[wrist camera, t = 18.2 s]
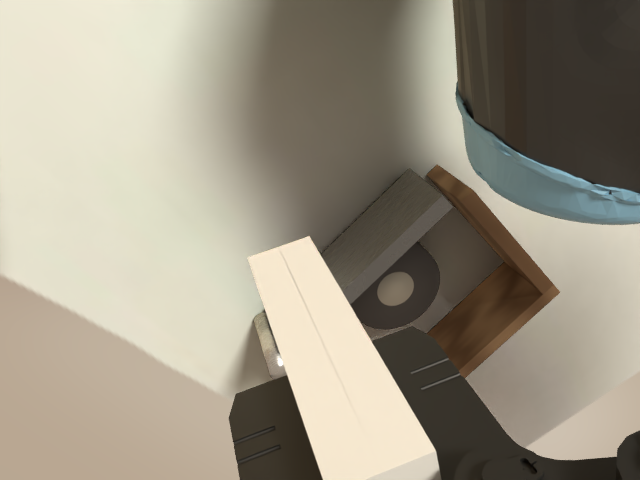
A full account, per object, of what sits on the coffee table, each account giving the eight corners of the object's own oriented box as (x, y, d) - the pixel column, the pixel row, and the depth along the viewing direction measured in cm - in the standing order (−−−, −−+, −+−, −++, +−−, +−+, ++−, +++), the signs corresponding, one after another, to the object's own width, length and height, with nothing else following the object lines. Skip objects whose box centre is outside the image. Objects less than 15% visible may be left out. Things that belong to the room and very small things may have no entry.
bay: (437, 164, 47) (473, 190, 42) (520, 260, 54) (560, 292, 49) (274, 323, 49) (289, 366, 44) (373, 395, 56) (396, 439, 51)
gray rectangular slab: (408, 167, 46) (448, 199, 40) (419, 180, 47) (460, 213, 41) (250, 321, 48) (265, 373, 42) (263, 331, 49) (280, 383, 43)
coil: (386, 209, 48) (403, 227, 44) (438, 263, 51) (457, 282, 48) (318, 274, 49) (330, 296, 45) (374, 322, 52) (389, 345, 49)
